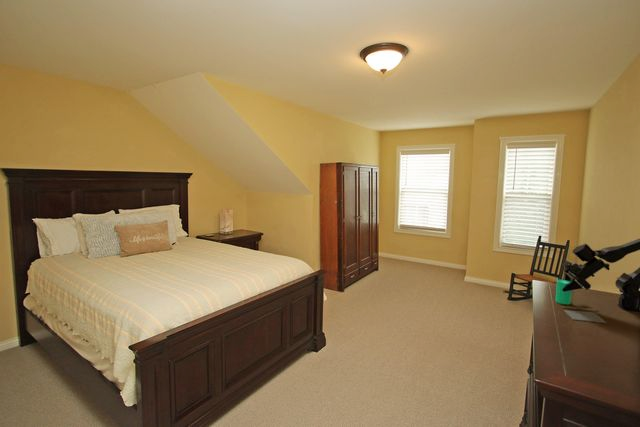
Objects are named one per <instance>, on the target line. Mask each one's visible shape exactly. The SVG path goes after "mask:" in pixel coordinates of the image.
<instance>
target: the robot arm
mask: <svg viewBox="0 0 640 427" xmlns="http://www.w3.org/2000/svg"><path fill="white" fill-rule="evenodd" d="M638 251H640V238H637V239H634V240H631V241H629V242H626V243H623V244H621V245H615V246H614V245H613V246H608V247H604V248H601V249H598V250H596V249H595V250H593V249H592V248H591V247H590V245H588V244H587V243H583V244H581V245H578V246H576V247H574V249H572V252H571V253H572V254H573V255H574V256H576V257H577V258H578V259H579V260H580V261H581V262H585V263H583V264H582V263H581V264H580V263H579V264H578V263H576V262H571V261H569V260H565V261H564V263H563V264H562V267H564V268H562V271H563V278H562V279H561V280H564V278H565V280H567V281H570V283H569V284H567V285H566V286H565V287H564V288H563V289H562V291H564V292H565V291H570V290H572V291H574V290H583V289H584V290H586V291H588V290H589V289H591V287H592V285H591V284H590V283H589V282H588V279H589V278H591V277H592V278H594V277H595V274H596V273H598V272H599V271H601V270H602V269H605V270H607V271H610V263H611V264H613V263H617V262H618V261H621V260H622V259H624V257H626V256H627V255H630V254H632V253H635V252H638ZM615 287H616V288H617V289H618V291H619V292H620V296H619V297H618V303H617V306H619V307H620V308H621V309H623V310H624V311H631V312H640V266H639V267H638V268H637V269H635V270H634V271H633V272H632V273H626V272H623V273H622V274H620V276H618V277H616V280H615Z"/></svg>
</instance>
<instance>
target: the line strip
mask: <svg viewBox="0 0 640 427" xmlns="http://www.w3.org/2000/svg"><path fill="white" fill-rule="evenodd" d="M561 308H562V309H568V310H577V311H579V310H580V311H589V312H590V311H593V312H599V310H598V308H590V307H589V308H588V307H580V306H579V307H578V306H569V305H568V306H566V305H561Z"/></svg>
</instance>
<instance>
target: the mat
mask: <svg viewBox="0 0 640 427" xmlns="http://www.w3.org/2000/svg"><path fill="white" fill-rule="evenodd" d="M562 311H563V312H564V313H565V314H566V315H567V316H568V317H569V318H570V319H571V320H572V321H579V322H581V321H582V322H589V323H601V324H607V321H605V319H603V318H602V317H600V316H599V315H598V314H597V313H595V312H590V311H581V310H580V311H579V310H570V309H568V310H566V309H563V310H562Z"/></svg>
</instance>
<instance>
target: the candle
mask: <svg viewBox="0 0 640 427" xmlns="http://www.w3.org/2000/svg"><path fill="white" fill-rule="evenodd" d="M563 278H564V277H563ZM569 283H570V281H567V280H565V278H564V280H562V279H559V278H558V279H556V286H555V287H556V288H555V289H556V290H555V300H554V301H555V302H556V303H558V304H561V305H570V304H571V303H572V302H571V301H572V291H573V290H570V291H565V292H564V291H562V289H563V288H564V287H565V286H566V285H567V284H569Z"/></svg>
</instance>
